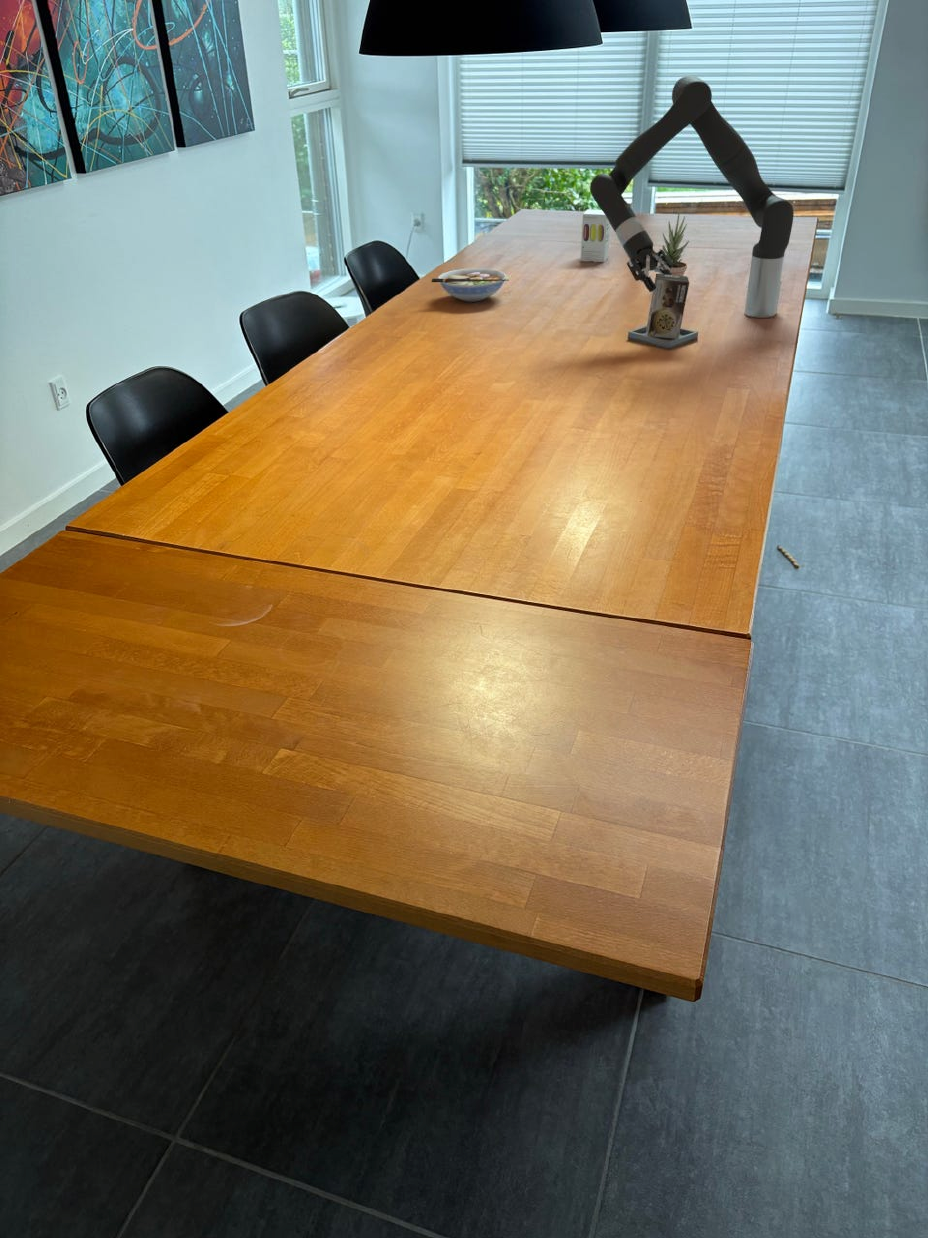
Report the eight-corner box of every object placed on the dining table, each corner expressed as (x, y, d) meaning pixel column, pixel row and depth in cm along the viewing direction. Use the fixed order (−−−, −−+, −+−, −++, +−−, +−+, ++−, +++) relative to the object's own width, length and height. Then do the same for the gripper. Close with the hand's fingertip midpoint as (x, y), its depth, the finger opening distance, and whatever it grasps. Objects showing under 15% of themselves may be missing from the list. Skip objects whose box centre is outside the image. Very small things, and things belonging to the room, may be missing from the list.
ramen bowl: (511, 289, 322) (511, 265, 318) (507, 308, 303) (507, 282, 299) (439, 290, 325) (438, 265, 320) (431, 308, 306) (430, 282, 302)
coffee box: (676, 333, 273) (688, 275, 264) (678, 339, 268) (690, 281, 259) (645, 329, 273) (655, 272, 264) (646, 336, 268) (657, 278, 259)
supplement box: (579, 261, 354) (581, 213, 344) (584, 255, 361) (586, 208, 352) (605, 262, 351) (607, 214, 342) (609, 256, 359) (611, 209, 349)
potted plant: (687, 289, 316) (695, 210, 302) (659, 290, 316) (665, 211, 302) (682, 281, 324) (689, 204, 310) (654, 282, 324) (660, 205, 311)
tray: (656, 329, 279) (656, 321, 278) (697, 339, 270) (698, 331, 269) (627, 339, 272) (628, 331, 271) (669, 350, 263) (669, 342, 262)
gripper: (625, 233, 258) (655, 283, 257) (658, 225, 266) (687, 274, 265) (609, 251, 264) (638, 300, 263) (642, 242, 272) (670, 290, 271)
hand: (662, 287), depth 264 cm, fingers open, 8 cm apart
